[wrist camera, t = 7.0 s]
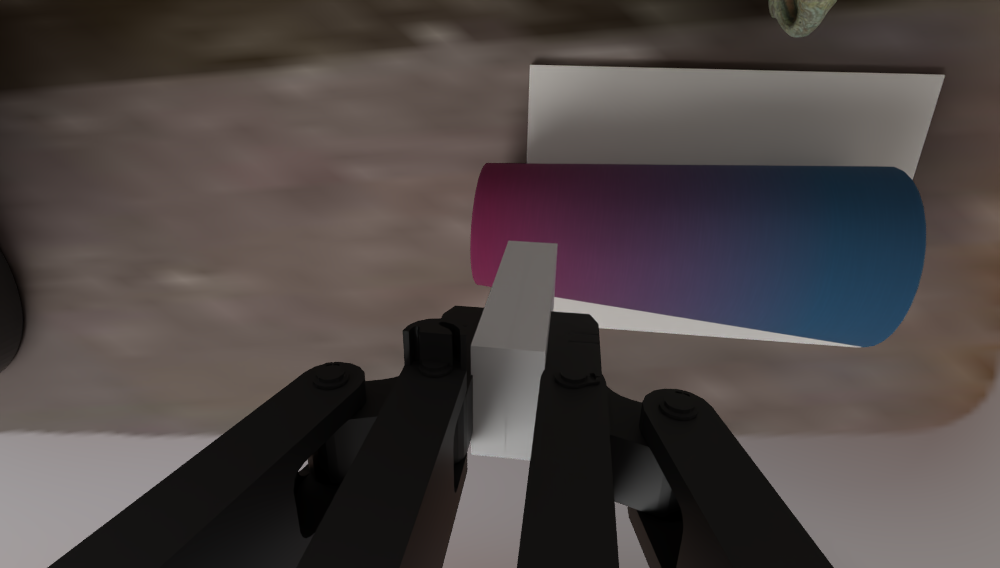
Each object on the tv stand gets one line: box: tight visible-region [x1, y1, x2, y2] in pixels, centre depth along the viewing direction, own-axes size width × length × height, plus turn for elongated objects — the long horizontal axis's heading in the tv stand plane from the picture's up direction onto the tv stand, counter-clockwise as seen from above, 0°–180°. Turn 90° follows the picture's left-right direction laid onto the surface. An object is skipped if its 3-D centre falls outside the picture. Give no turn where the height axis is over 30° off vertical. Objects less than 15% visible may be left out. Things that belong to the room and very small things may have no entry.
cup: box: [470, 163, 926, 347], centre depth 22 cm, size 7×7×15 cm
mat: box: [527, 65, 945, 348], centre depth 25 cm, size 16×12×1 cm
